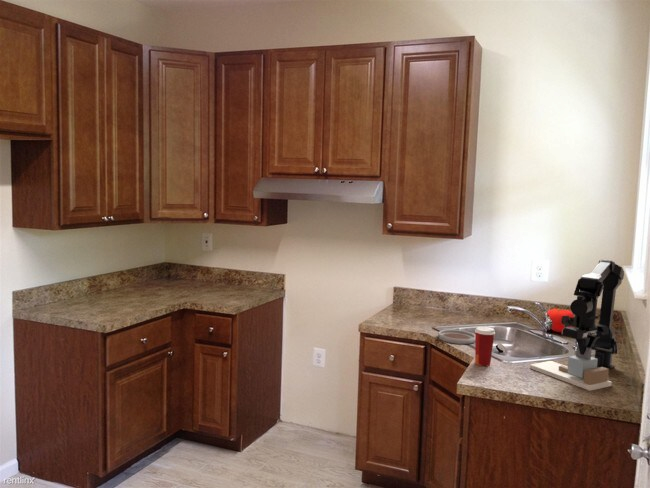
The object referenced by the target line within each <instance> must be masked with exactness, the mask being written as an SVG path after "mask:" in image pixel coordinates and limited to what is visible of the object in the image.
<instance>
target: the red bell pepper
mask: <svg viewBox="0 0 650 488" xmlns="http://www.w3.org/2000/svg"><path fill="white" fill-rule="evenodd" d="M546 313H547V314H548V315H549V317H550V319H551V320H552V321H553V325H552V330H553V332H557V333H559V334H560V333H561V334H562V329H564V328H566V327H565V326H564V325H563V324H562V323H561V319H562V316H569V317H570V318H572V317H575V314H573V313H572V311H571V310H567V309H564V308H563V309H562V308H558V307H557V308H551V309H549V310H547V312H546ZM567 327H573V326H567ZM552 330H551V331H552Z"/></svg>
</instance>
